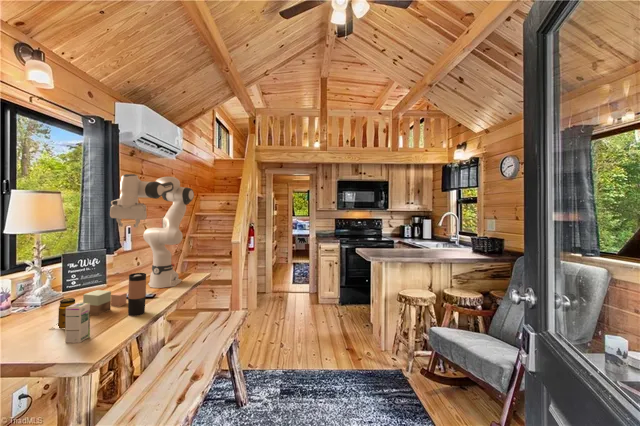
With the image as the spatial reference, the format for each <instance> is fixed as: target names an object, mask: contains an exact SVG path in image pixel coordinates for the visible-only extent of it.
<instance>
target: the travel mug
mask: <svg viewBox="0 0 640 426" xmlns="http://www.w3.org/2000/svg"><path fill="white" fill-rule="evenodd" d="M127 293H128V294H127V315H128V316H129V317H137V316H139V317H140V316H142V315H144V314H145V313H146V312H145V311H146V296H147V295H146V294H147V273H145V272H134V273H130V274H129V275H128V291H127Z"/></svg>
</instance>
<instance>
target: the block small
mask: <svg viewBox="0 0 640 426" xmlns="http://www.w3.org/2000/svg"><path fill="white" fill-rule="evenodd" d="M127 293H128V292H119V291H118V292H115V293H111V307H121V306H125V305H126V304H127V300H128V294H127Z"/></svg>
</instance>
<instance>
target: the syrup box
mask: <svg viewBox="0 0 640 426" xmlns="http://www.w3.org/2000/svg"><path fill="white" fill-rule="evenodd" d="M90 323H91V315H90V303H84V302H83V301H82V302H75V304H73V305H71V306H69V307H66V323H65V325H66V328H65V329H64V330H65V332H64V333H65V337H64V338H65V343H66V344H80V343H82V342H83V341H85V340H86V339H88V338H91V337H90V336H91V334H90V333H91V330H90V327H91V324H90Z"/></svg>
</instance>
